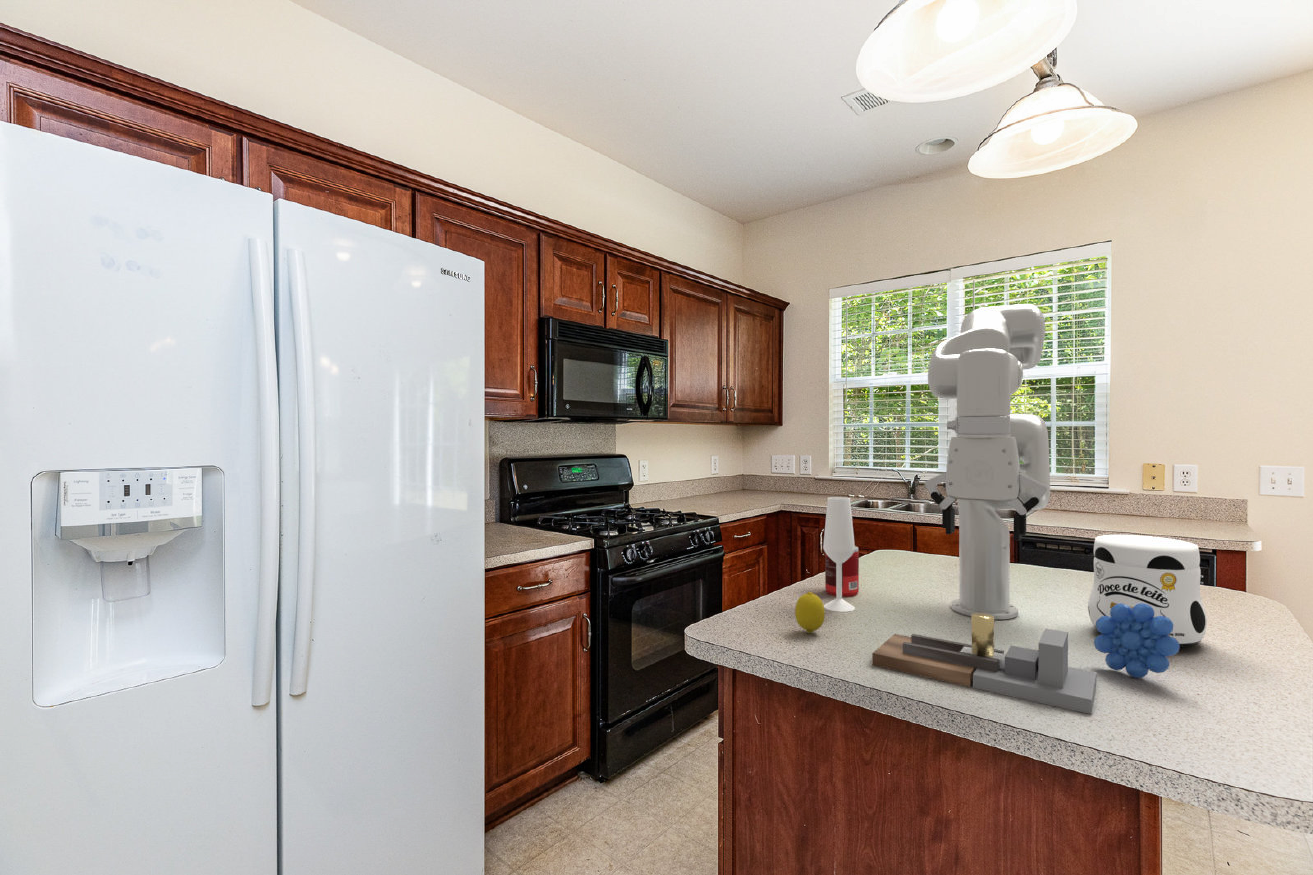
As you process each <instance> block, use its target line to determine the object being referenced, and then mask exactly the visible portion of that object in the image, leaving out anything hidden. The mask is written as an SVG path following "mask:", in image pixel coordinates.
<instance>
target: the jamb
mask: <svg viewBox="0 0 1313 875" xmlns="http://www.w3.org/2000/svg"><path fill="white" fill-rule="evenodd" d="M1068 656H1069V632H1068V631H1062V630H1056V629H1051V628H1050V629H1049V628H1044V629H1043V632H1042V634H1041V636H1040V639H1039V641H1038V649H1034V648H1029V647H1028V648H1027V647H1023V646H1018V645H1017V646H1016V645H1010V647H1009V648H1008V650H1007V652H1006V655H1005V670H1002V669H998V672H992V671H987V670H982V669H978V668H977V669H976V671H975V672H974V674H973V683H972V688H974V689H978V690H981V691H982V690H983V691H985V692H986V691H987V692H990V693H994V694H995V693H996V694H1000V695H1005V696H1009V697H1014V698H1018V699H1022V700H1027V701H1031V702H1036V703H1039V704H1043V705H1044V704H1045V705H1049V706H1053V707H1057V708H1062V709H1067V710H1071V711H1076V712H1080V713H1085V714H1088V715H1089V714H1090V715H1093V711H1094V710H1093V708H1094V702H1095V695H1096V691H1097V672H1096V671H1093V670H1092V671H1091V670H1087V669H1081V668H1076V667H1071V666H1068V665H1069V663H1068V662H1069V657H1068Z"/></svg>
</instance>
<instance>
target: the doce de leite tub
mask: <svg viewBox="0 0 1313 875" xmlns="http://www.w3.org/2000/svg"><path fill="white" fill-rule="evenodd" d="M1093 556H1094V558H1093V584H1092V588H1091V590H1090V593H1089V597H1088V601H1087V610H1088V615H1089V618H1090V622H1091V624H1092V626H1094V627H1095V628H1096V621H1097V620H1098V619H1099V618H1100V617H1102V616H1110V610H1111V608H1112V607H1113V606H1115V605H1116V604H1120V603H1121V604H1125V605H1128V606H1129V607H1130V608H1131V610H1132V608H1133V607H1134V606H1135V605H1137V604H1140V603H1144V604H1148V605H1150V606H1151V607H1152V608H1153V610H1154V613H1155V614H1154V617H1156V616H1164V617H1167V618H1169V619H1170V620H1171V621H1172V623H1173V626H1174V627H1173V631H1172V632H1171V633H1170V634H1168V635H1167V636H1170V637H1173V638H1175V639H1176V640H1177V641H1178V643H1179V645H1180V648H1183V647H1191V646H1193V645H1197V644H1198V643H1199V644H1200V642H1202V641H1203V639H1204V637H1205V634H1206V630H1207V626H1208V625H1207V624H1208V619H1207V614H1206V613H1207V612H1206V609H1205V607H1204V603H1203V600H1202V596H1201V573H1202V572H1201V570H1202V569H1201V567H1200V564H1201V556H1200V549H1199V545H1198V544H1195V543H1193V542H1189V541H1187V540H1186V541H1184V540H1180V539H1174V538H1167V537H1160V536H1151V535H1137V534H1136V535H1135V534H1134V535H1133V534H1104V535H1098V536H1096V537H1095V538H1094V543H1093ZM1110 617H1111V616H1110Z"/></svg>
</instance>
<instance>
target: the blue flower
mask: <svg viewBox="0 0 1313 875" xmlns="http://www.w3.org/2000/svg"><path fill="white" fill-rule="evenodd" d="M1154 614H1155V613H1154V610H1153V608H1152V607H1151V606H1150V605H1148V604H1144V603H1140V604H1137V605H1135V606H1134V607H1133V608H1132V610H1131V608H1130V607H1129V606H1128V605H1125V604H1121V603H1120V604H1116V605H1115V606H1113V607H1112V608H1111V610H1110V616H1111V617H1110V616H1102V617H1100V618H1099V619H1098V620H1097V621H1096V627H1095V629H1096V630H1097V631H1098V632H1099V633H1100V634H1098V636H1097V637H1095V638H1094V641H1093V644H1094V646H1093V647H1095V649H1096V650H1097V651H1099V652H1100V653H1102V654H1106V655H1105V659H1104V660H1105V664H1106V665H1107V667H1109V668H1110V669H1111V670H1114V671H1121V670H1123V669H1125V672H1126V674H1127V675H1129V676H1130V677H1131V678H1135V679H1142V678H1145V677H1146V676H1147V675H1148V674H1149V671H1150V672H1152V673H1156V674H1162V673H1165V672H1166V671H1167V670H1168V669H1170V668H1169V667H1170V660H1169V658H1168V657H1173V656H1174V655H1176V654H1177V653H1179V652H1180V648H1181V647H1180V645H1179V643H1178V641H1177V640H1176V639H1175V638H1173V637H1170V636H1167V635H1168V634H1170V633H1171V632H1172V631H1173V627H1174V626H1173V623H1172V621H1171V620H1170V619H1169V618H1167V617H1164V616H1156V617H1154Z"/></svg>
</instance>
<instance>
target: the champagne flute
mask: <svg viewBox="0 0 1313 875" xmlns="http://www.w3.org/2000/svg"><path fill="white" fill-rule="evenodd" d="M851 504H852V503H851V498H850V497H847V496H845V497H844V496H830V497H827V503H826V513H825V524H824V525H825V526H824V535H823V545H822V546H823V552H824V554H825V553H826V554H827V555H828V556H829V557H830V558H831V559H832V561H834V562H835V563H836V596H835V597H836V598H835V599H832V600H831V601H829V602H827V603H825V604H823V605H824V609H825V610H829V611H832V612H833V611H834V612H839V613H840V612H841V613H842V612H843V613H844V612H845V613H846V612H847V613H848V612H852V611H854V610H855V609H856V607H855V606H854V605H852V604H851V603H849V602H847V601H846V600H844V599H843V597H842V563H844V562H845V561H846V560H848V559H849V558H850V557H851V556H852V554H853V553H854V551H855V546H856V545H855V534H854V526H853V524H854V523H853V513H852V506H851Z"/></svg>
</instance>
